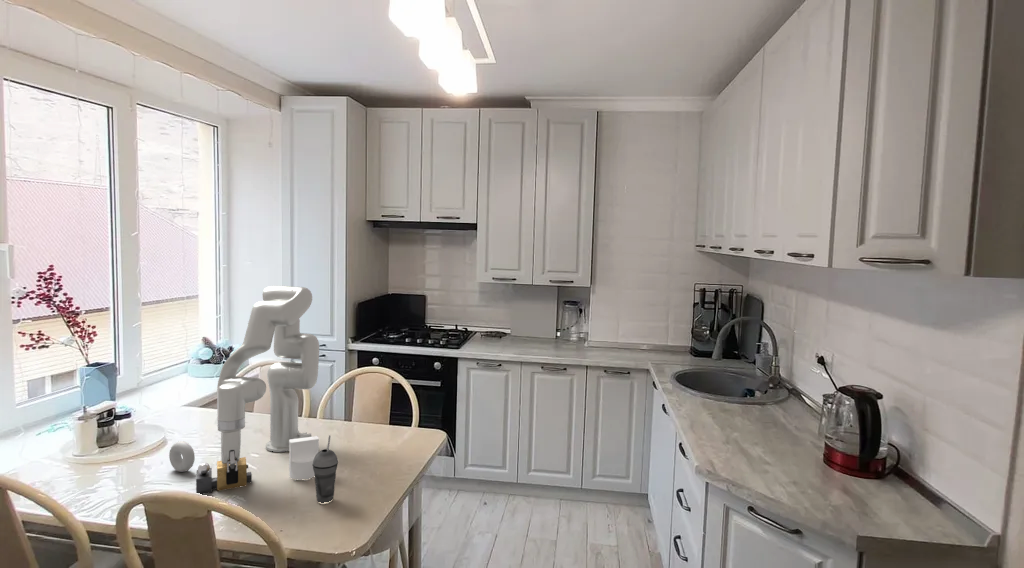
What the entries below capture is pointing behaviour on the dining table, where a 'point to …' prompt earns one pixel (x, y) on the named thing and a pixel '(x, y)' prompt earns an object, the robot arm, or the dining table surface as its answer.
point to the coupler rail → (209, 479)
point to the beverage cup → (325, 474)
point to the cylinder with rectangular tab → (302, 457)
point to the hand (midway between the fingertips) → (231, 477)
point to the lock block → (223, 469)
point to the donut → (176, 456)
